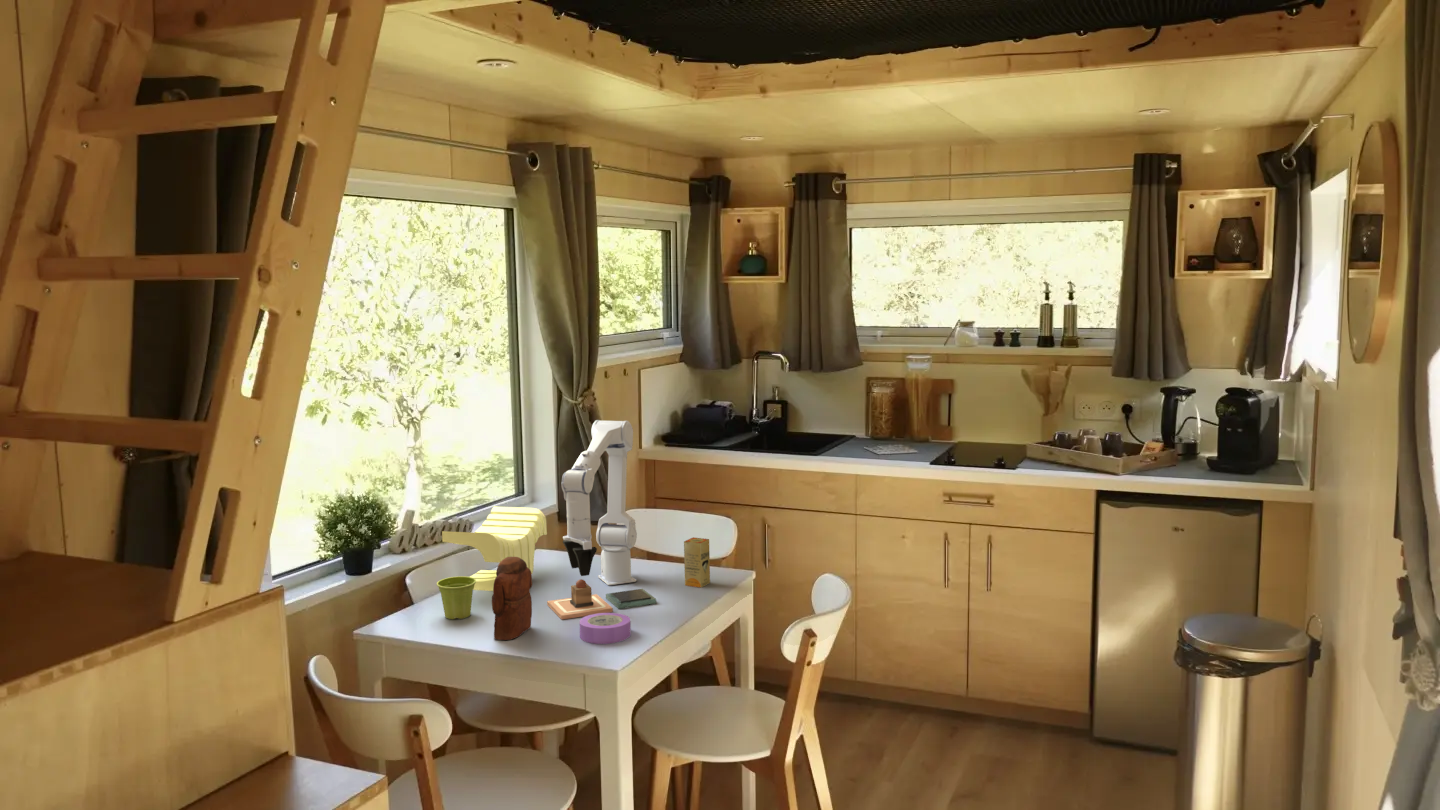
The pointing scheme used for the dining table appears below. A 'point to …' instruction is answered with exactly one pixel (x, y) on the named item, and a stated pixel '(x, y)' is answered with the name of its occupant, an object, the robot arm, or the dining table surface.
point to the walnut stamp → (581, 594)
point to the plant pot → (457, 596)
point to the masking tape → (605, 628)
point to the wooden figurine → (512, 599)
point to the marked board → (569, 611)
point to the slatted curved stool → (503, 539)
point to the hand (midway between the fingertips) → (580, 571)
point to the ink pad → (630, 598)
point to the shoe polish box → (697, 562)
